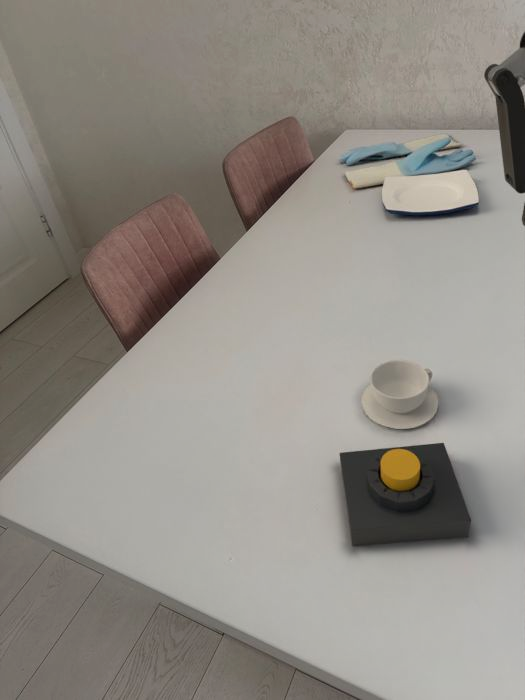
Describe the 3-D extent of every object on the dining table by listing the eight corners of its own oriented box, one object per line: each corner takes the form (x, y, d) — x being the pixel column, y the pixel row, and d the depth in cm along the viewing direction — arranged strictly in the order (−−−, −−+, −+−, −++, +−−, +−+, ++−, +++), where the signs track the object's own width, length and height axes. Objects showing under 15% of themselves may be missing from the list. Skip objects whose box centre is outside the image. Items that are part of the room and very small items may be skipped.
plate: (469, 178, 119) (470, 167, 117) (482, 216, 104) (484, 204, 102) (381, 186, 124) (381, 175, 122) (382, 223, 108) (381, 211, 107)
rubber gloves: (334, 156, 145) (332, 133, 141) (446, 136, 144) (448, 112, 140) (353, 191, 124) (352, 165, 120) (485, 167, 122) (488, 140, 118)
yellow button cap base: (441, 459, 59) (444, 432, 56) (468, 537, 52) (473, 509, 49) (341, 469, 61) (338, 442, 58) (351, 546, 53) (349, 520, 50)
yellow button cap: (414, 458, 55) (415, 446, 53) (423, 489, 52) (424, 477, 50) (377, 462, 55) (377, 450, 54) (384, 493, 52) (384, 481, 51)
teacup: (389, 442, 63) (389, 417, 60) (347, 395, 70) (346, 371, 67) (454, 411, 65) (457, 385, 62) (407, 368, 72) (407, 343, 69)
